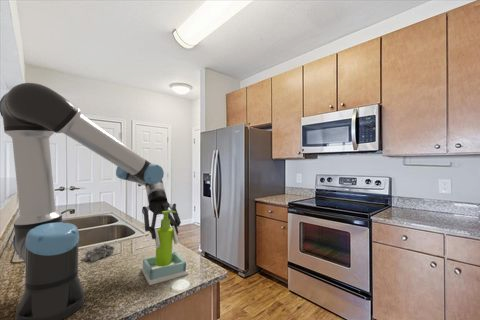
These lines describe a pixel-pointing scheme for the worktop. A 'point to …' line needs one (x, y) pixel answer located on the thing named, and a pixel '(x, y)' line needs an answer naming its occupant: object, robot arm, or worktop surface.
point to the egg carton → (99, 252)
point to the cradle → (163, 269)
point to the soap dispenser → (164, 241)
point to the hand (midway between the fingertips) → (167, 244)
